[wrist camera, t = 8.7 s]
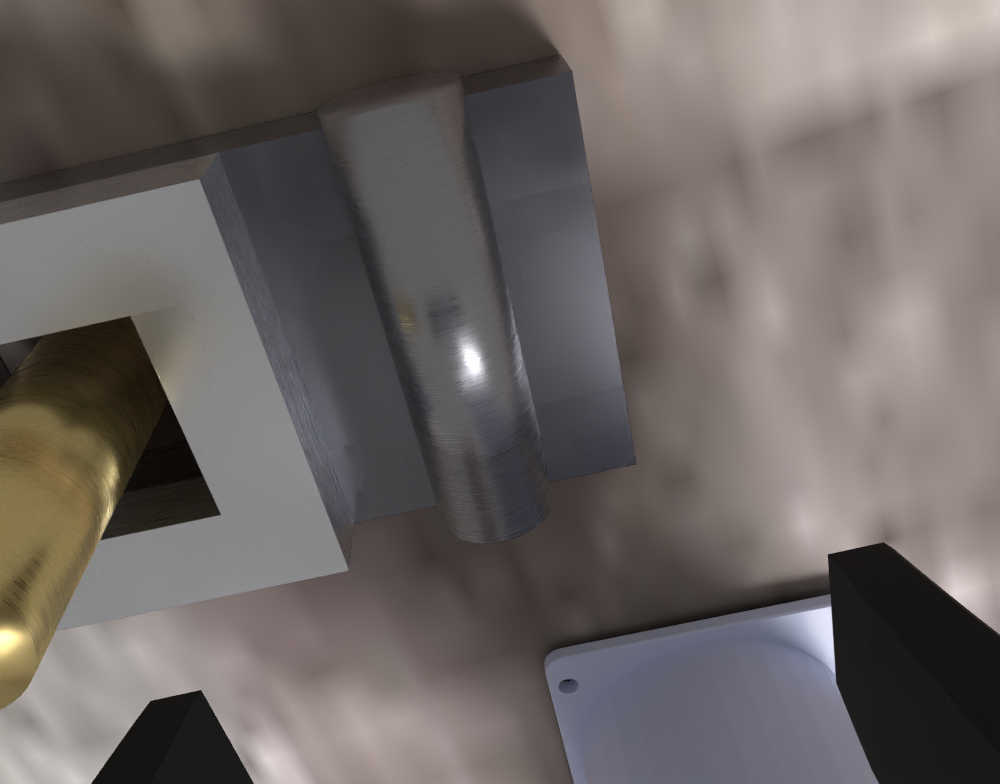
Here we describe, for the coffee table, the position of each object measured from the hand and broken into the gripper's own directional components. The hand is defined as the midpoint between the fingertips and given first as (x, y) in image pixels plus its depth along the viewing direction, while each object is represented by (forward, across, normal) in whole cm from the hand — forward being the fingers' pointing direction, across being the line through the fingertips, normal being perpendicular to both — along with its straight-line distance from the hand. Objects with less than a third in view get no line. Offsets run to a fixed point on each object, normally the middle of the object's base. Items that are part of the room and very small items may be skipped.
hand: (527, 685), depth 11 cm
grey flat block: (+10, +5, -1) cm, 11 cm away
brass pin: (+10, +8, -1) cm, 12 cm away
